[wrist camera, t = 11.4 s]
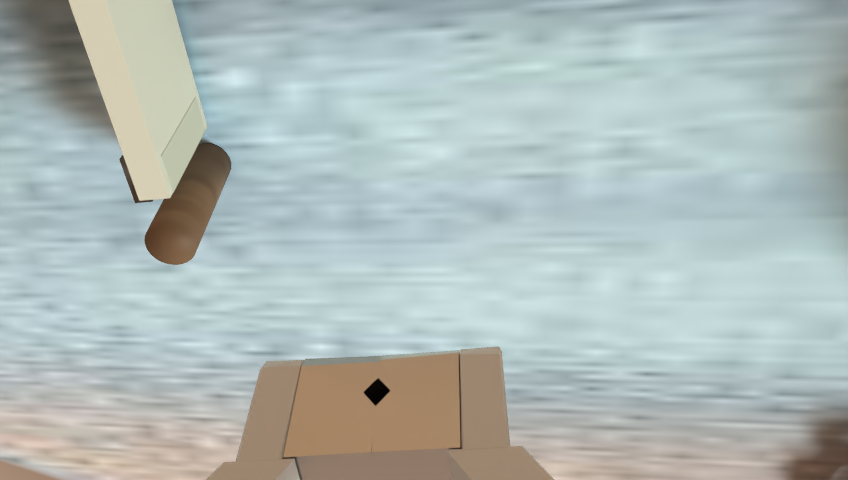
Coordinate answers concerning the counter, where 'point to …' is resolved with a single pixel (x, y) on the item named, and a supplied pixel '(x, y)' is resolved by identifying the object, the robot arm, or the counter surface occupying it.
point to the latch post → (186, 205)
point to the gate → (144, 87)
